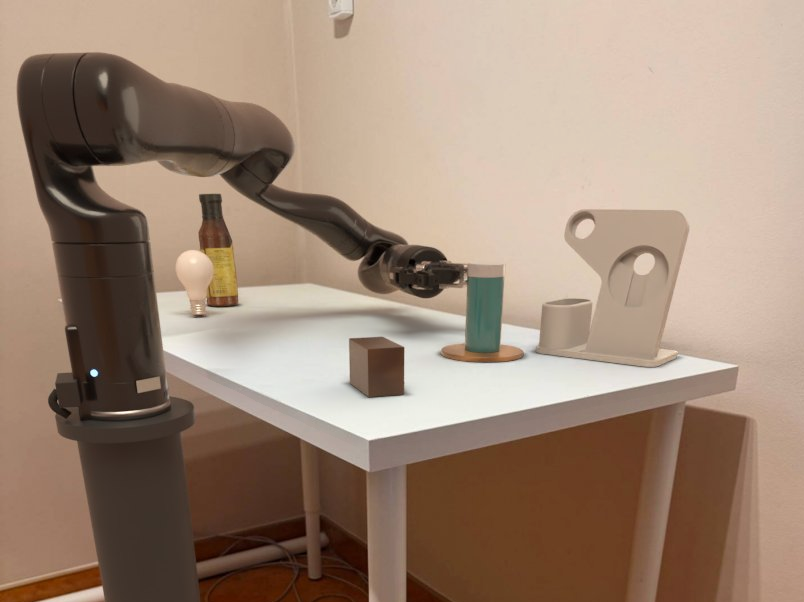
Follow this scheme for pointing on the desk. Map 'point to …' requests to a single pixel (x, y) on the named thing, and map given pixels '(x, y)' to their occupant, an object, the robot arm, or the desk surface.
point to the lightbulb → (195, 278)
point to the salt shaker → (484, 306)
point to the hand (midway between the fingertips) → (459, 280)
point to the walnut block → (376, 366)
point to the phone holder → (619, 289)
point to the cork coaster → (482, 354)
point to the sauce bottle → (218, 252)
